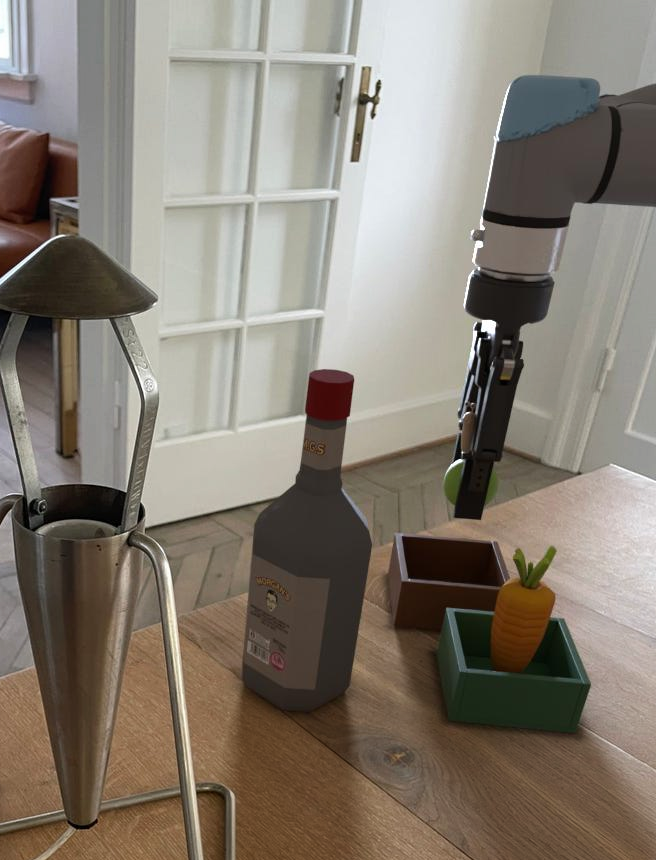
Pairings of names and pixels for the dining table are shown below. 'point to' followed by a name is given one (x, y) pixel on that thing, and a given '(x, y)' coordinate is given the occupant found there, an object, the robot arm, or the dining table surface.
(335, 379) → the liquor
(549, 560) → the carrot
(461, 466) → the snail figurine
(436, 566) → the brown bin
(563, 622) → the green bin
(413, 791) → the dining table surface
